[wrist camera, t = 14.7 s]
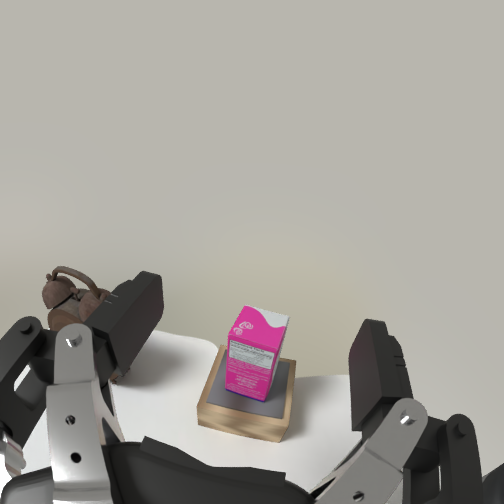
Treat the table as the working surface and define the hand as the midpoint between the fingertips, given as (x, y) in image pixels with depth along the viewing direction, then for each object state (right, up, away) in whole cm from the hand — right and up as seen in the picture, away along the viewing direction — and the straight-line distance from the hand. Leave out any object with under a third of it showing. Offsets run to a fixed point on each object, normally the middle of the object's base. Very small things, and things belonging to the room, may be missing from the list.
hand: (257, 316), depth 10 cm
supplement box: (0, -16, +25) cm, 30 cm away
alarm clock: (-26, -17, +29) cm, 43 cm away
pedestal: (-1, -21, +28) cm, 35 cm away
